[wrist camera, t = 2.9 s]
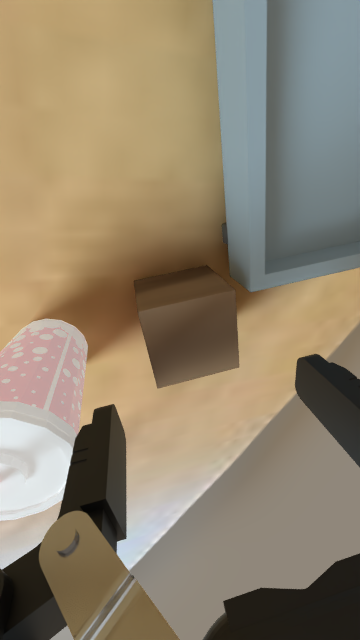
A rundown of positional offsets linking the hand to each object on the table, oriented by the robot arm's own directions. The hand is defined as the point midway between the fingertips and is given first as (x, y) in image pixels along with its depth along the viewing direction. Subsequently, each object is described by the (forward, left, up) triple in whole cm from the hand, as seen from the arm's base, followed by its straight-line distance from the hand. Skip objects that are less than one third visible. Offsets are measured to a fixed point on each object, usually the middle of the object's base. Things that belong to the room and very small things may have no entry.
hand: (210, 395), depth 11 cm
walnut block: (0, 0, -9) cm, 9 cm away
